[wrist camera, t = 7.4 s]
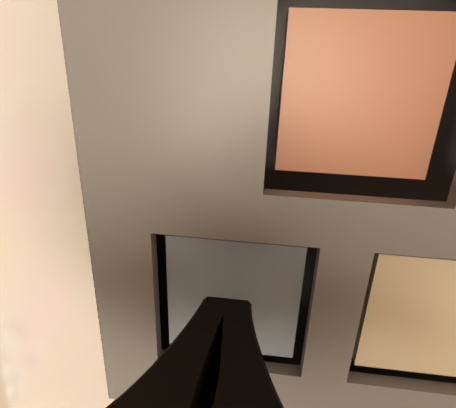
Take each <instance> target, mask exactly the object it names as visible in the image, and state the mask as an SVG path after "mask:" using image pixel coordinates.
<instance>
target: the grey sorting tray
mask: <svg viewBox="0 0 456 408" xmlns="http://www.w3.org/2000/svg"><path fill="white" fill-rule="evenodd" d="M57 4H58V12H59V19H60V27H61V35H62V42H63V50H64V58H65V65H66V73H67V81H68V88H69V96H70V103H71V111H72V119H73V126H74V134H75V142H76V149H77V157H78V165H79V172H80V180H81V188H82V195H83V203H84V211H85V218H86V226H87V234H88V241H89V249H90V257H91V264H92V272H93V280H94V287H95V295H96V303H97V310H98V318H99V325H100V333H101V341H102V348H103V356H104V364H105V371H106V379H107V387H108V394H109V398H112V399H117V398H118V397H119V396H120V395H122V394H123V393H124V392H125V391H126V390H127V389H128V388H129V387H130V386H131V385H132V384H133V383H135V382H136V381H137V380H138V379H139V378H140V377H141V376H142V375H143V374H144V373H145V372H146V371H147V370H148V369H149V368H150V367H151V366H152V364H153V363H154V362H155V361H156V360H157V359H158V358H159V357H160V356H161V355H162V353H163V352H164V351H165V350H166V349H167V348H168V347H169V346H170V344H169V319H168V293H167V266H166V239H165V235H174V236H186V237H197V238H209V239H220V240H232V241H243V242H255V243H267V244H278V245H290V246H301V247H307V254H306V261H305V269H304V276H303V284H302V291H301V299H300V306H299V314H298V321H297V328H296V336H295V343H294V351H293V358H288V357H280V356H271V355H263V354H262V356H263V359H264V362H265V364H266V367H267V370H268V372H269V375H270V377H271V380H272V382H273V385H274V387H275V389H276V392H277V394H278V396H279V398H280V401H281V403H282V405H283V407H284V408H456V377H452V376H444V375H435V374H426V373H418V372H409V371H401V370H392V369H383V368H375V367H366V366H357V365H354V362H353V358H352V355H353V350H354V346H355V341H356V336H357V332H358V327H359V323H360V318H361V313H362V309H363V304H364V300H365V295H366V290H367V286H368V281H369V277H370V272H371V268H372V263H373V258H374V254H375V253H382V254H394V255H405V256H417V257H428V258H440V259H451V260H456V61H455V65H454V69H453V72H452V76H451V80H450V84H449V88H448V92H447V96H446V100H445V104H444V108H443V111H442V115H441V119H440V123H439V127H438V131H437V135H436V139H435V143H434V147H433V150H432V154H431V158H430V162H429V166H428V170H427V174H426V178H425V180H420V179H405V178H390V177H375V176H360V175H345V174H330V173H316V172H301V171H286V170H275V150H276V139H277V127H278V115H279V104H280V92H281V80H282V69H283V57H284V45H285V33H286V22H287V12H288V9H289V7H291V8H332V9H373V10H414V11H456V0H57Z"/></svg>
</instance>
